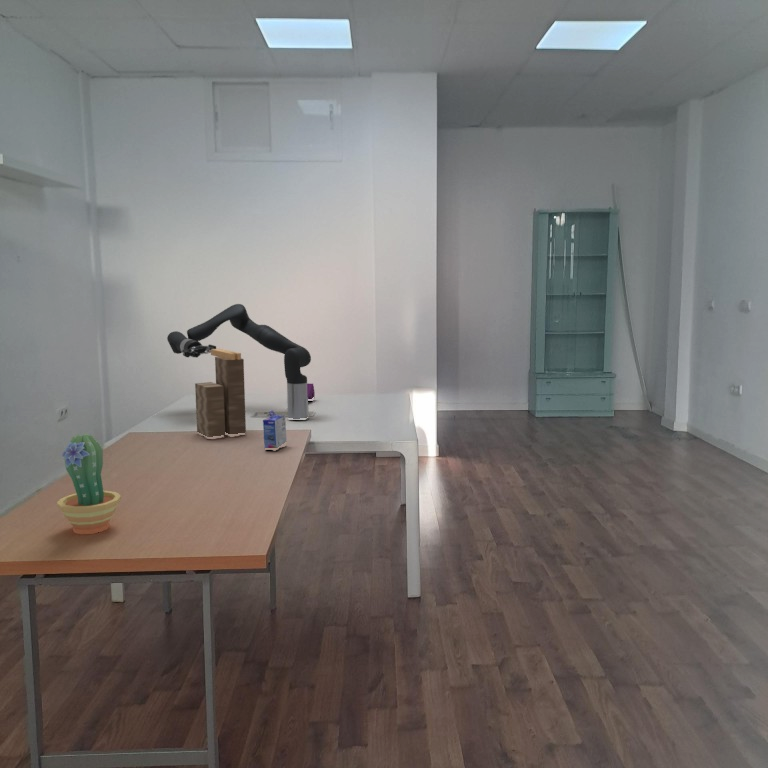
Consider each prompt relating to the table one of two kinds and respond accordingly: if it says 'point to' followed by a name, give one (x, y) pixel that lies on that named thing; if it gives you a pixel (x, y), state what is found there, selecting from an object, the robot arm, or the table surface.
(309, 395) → the mounting bracket
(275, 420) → the ink cartridge box
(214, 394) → the step stand
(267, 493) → the table surface
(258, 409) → the table surface
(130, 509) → the table surface
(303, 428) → the table surface
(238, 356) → the slotted slat
